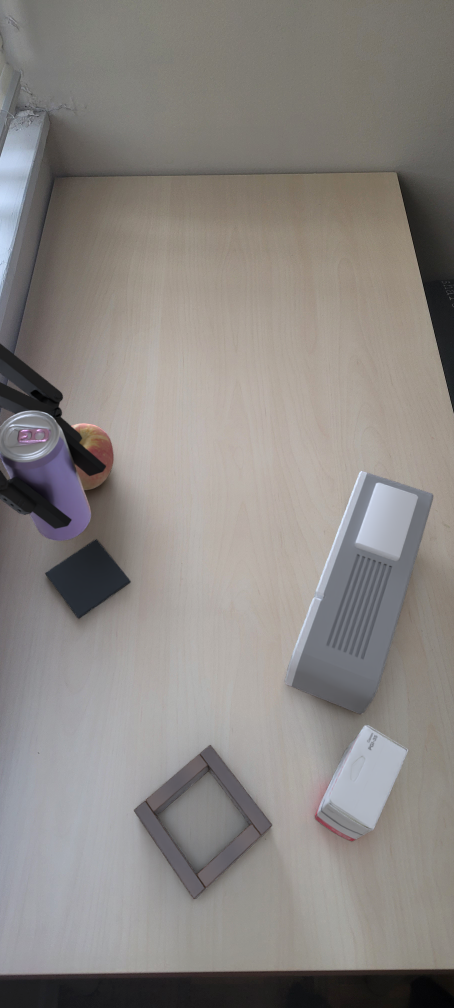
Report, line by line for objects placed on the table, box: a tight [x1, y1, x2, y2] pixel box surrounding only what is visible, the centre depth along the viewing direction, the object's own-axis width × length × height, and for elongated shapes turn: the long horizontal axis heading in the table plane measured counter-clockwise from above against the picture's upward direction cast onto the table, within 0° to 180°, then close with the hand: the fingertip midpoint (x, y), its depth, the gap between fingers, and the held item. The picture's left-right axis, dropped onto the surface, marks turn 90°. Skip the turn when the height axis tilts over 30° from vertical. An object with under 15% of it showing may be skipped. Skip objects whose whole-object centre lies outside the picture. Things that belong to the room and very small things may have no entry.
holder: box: [133, 744, 273, 900], centre depth 67 cm, size 10×10×4 cm
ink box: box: [314, 724, 409, 842], centre depth 65 cm, size 9×5×12 cm, turn 148°
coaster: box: [44, 538, 131, 620], centre depth 83 cm, size 8×8×1 cm
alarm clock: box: [284, 470, 434, 715], centre depth 76 cm, size 27×9×12 cm, turn 157°
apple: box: [71, 422, 115, 491], centre depth 89 cm, size 9×9×8 cm
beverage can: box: [0, 410, 92, 542], centre depth 63 cm, size 6×6×15 cm
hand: (80, 496), depth 63 cm, fingers closed on beverage can, 6 cm apart
